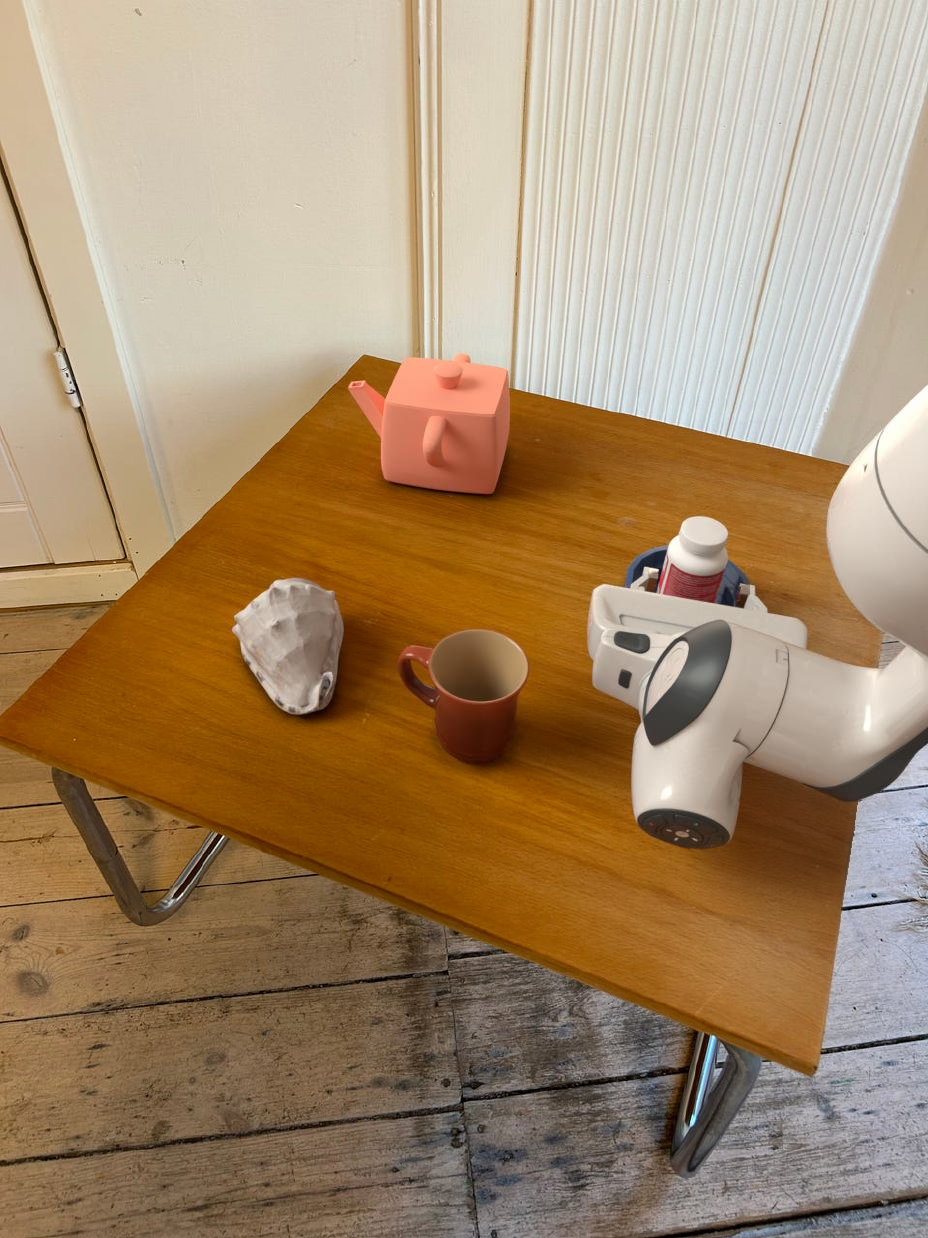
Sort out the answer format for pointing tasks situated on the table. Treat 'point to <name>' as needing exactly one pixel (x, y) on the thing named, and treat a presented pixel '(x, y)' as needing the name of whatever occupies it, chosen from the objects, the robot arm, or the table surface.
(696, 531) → the pill bottle
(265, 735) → the table surface
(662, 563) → the bowl
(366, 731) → the table surface
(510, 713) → the mug
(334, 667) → the seashell
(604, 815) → the table surface
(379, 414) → the teapot
